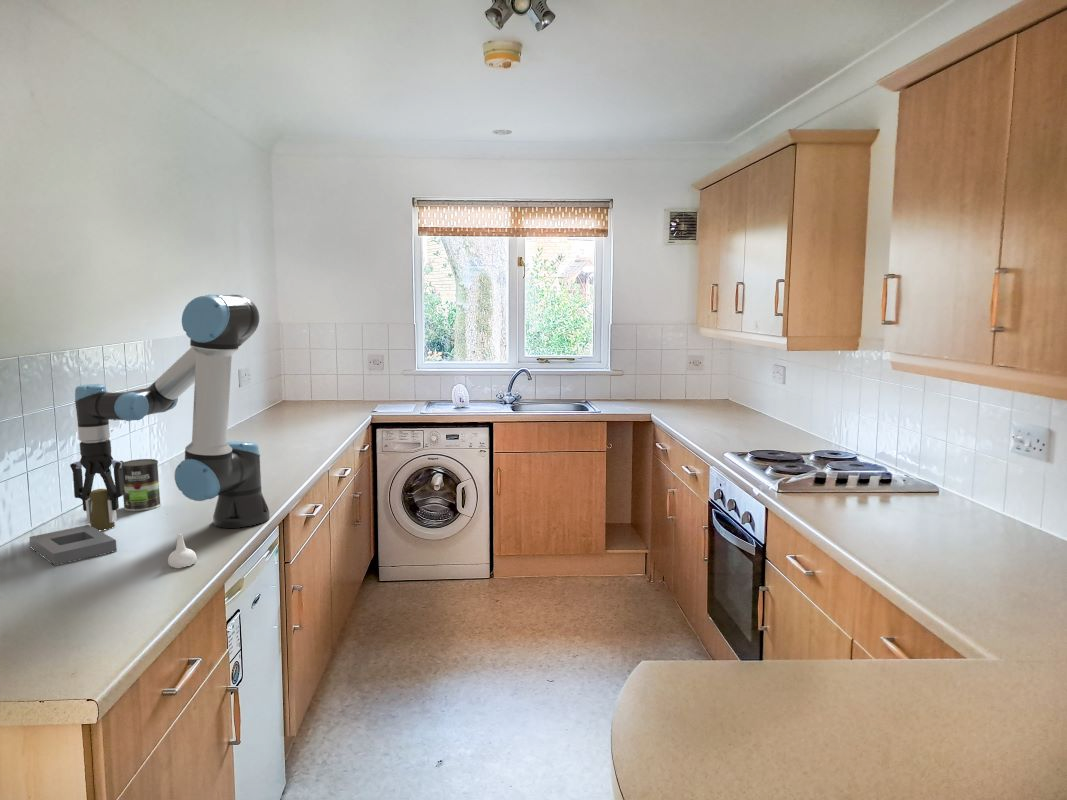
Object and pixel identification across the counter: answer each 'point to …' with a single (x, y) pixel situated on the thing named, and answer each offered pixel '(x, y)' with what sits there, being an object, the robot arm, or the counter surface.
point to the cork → (100, 509)
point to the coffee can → (141, 485)
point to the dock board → (72, 544)
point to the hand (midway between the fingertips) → (102, 521)
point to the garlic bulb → (181, 554)
